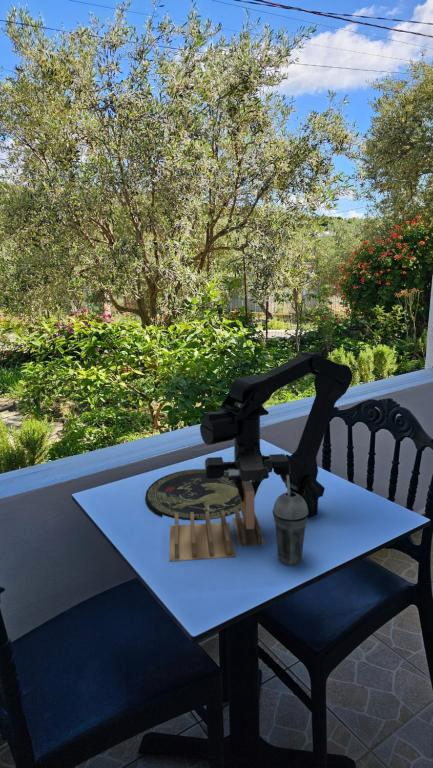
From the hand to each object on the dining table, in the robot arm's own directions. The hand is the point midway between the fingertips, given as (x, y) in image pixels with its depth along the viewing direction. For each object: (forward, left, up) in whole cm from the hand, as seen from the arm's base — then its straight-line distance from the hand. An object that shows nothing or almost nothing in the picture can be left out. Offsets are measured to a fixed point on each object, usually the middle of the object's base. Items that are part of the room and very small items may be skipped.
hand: (247, 500), depth 107 cm
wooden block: (0, 0, -4) cm, 4 cm away
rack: (+11, +3, -8) cm, 14 cm away
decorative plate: (+10, -21, -9) cm, 25 cm away
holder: (0, 0, -8) cm, 8 cm away
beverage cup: (-7, +12, -9) cm, 16 cm away
